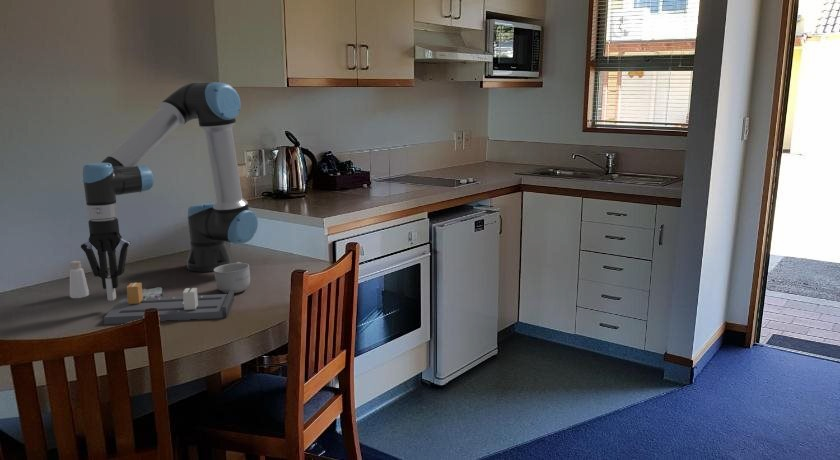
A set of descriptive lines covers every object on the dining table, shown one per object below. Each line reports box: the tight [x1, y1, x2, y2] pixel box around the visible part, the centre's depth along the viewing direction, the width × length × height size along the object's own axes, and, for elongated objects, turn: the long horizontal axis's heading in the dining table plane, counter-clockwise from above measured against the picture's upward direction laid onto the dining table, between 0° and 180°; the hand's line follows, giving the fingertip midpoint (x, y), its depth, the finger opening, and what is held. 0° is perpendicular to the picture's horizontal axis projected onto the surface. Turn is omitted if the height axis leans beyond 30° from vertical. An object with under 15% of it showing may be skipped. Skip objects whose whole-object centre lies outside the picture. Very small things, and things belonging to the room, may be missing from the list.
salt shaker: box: [69, 260, 90, 299], centre depth 198 cm, size 5×5×11 cm
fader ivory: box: [182, 287, 198, 310], centre depth 180 cm, size 4×3×5 cm
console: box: [103, 290, 235, 325], centre depth 184 cm, size 16×32×3 cm, turn 98°
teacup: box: [213, 261, 251, 294], centre depth 204 cm, size 14×11×8 cm
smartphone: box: [142, 286, 164, 298], centre depth 197 cm, size 7×1×15 cm
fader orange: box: [126, 282, 143, 304], centre depth 185 cm, size 4×3×5 cm
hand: (112, 299), depth 185 cm, fingers closed
